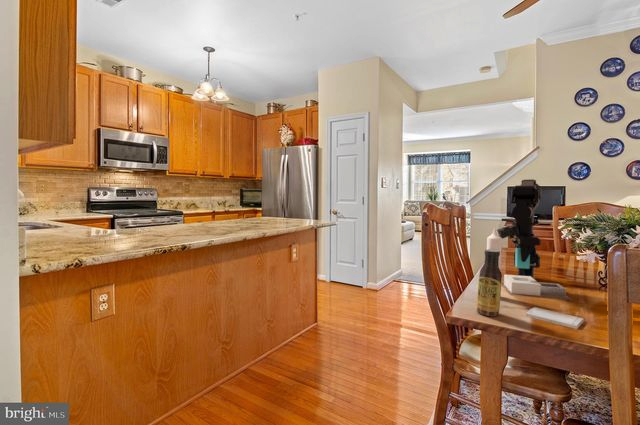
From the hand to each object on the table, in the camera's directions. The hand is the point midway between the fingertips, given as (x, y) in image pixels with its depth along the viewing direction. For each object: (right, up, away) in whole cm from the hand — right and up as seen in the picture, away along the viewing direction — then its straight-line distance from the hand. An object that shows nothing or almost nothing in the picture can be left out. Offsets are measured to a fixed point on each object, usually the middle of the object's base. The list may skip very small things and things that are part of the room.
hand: (522, 260), depth 120 cm
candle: (-15, -13, -7) cm, 21 cm away
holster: (+8, -11, -2) cm, 14 cm away
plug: (0, -3, 0) cm, 2 cm away
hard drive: (-6, -14, -25) cm, 29 cm away
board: (+4, -12, -1) cm, 13 cm away
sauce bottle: (-24, -13, -21) cm, 34 cm away
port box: (0, -11, +1) cm, 11 cm away
